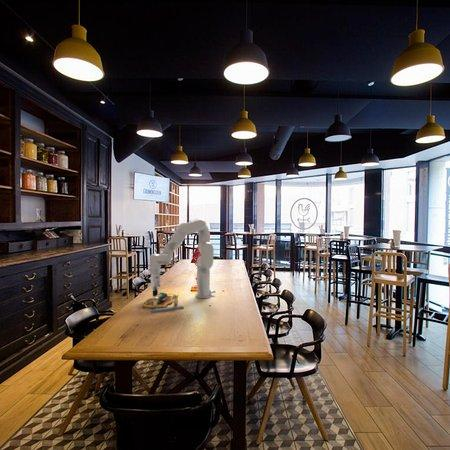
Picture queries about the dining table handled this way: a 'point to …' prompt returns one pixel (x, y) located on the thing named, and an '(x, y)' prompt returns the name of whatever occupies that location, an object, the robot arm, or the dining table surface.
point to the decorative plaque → (159, 301)
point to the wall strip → (166, 309)
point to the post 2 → (175, 300)
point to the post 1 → (155, 302)
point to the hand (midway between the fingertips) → (155, 295)
